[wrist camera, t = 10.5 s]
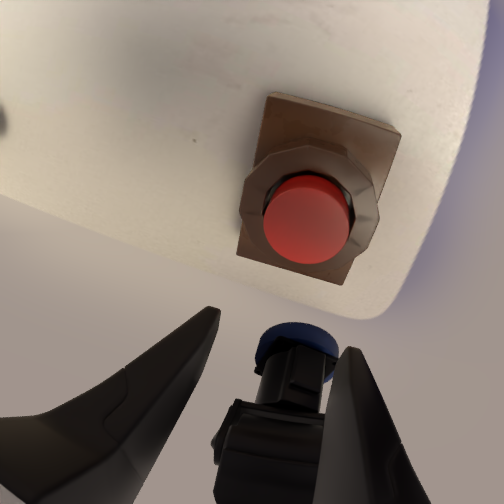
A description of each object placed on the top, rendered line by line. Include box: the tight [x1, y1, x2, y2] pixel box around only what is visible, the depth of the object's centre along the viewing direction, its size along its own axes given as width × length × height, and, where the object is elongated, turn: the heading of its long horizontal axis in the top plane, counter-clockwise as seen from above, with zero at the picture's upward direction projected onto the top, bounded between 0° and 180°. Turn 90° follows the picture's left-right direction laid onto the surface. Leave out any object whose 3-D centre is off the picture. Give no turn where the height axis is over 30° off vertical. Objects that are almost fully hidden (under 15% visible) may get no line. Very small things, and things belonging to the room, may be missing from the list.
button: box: [263, 175, 349, 264], centre depth 15 cm, size 4×4×2 cm
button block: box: [236, 92, 401, 285], centre depth 17 cm, size 10×7×4 cm
